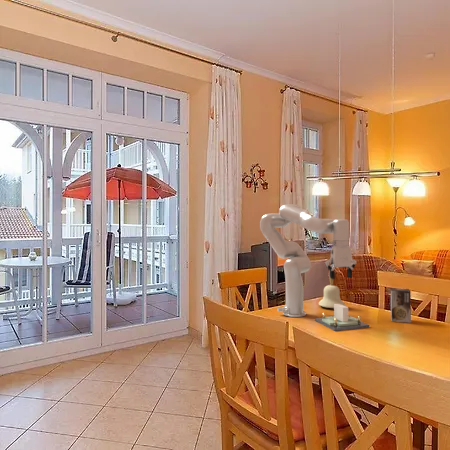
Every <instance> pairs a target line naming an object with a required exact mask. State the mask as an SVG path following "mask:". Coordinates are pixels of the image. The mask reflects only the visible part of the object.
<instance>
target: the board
mask: <svg viewBox="0 0 450 450" xmlns="http://www.w3.org/2000/svg"><path fill="white" fill-rule="evenodd" d="M348 316H349V307H348V306H346V305H345V306H344V305H341V304H334V308H333V316H325V319H322V321H323V322H325V323H327V324H329V325H335V319H334V318H337V325H339V326H348V325H358V317H357V318H356V317H354V316H351V315H350V316H349V317H348ZM360 322H362V320H361V319H360Z"/></svg>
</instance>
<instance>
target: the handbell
mask: <svg viewBox="0 0 450 450" xmlns="http://www.w3.org/2000/svg"><path fill="white" fill-rule="evenodd" d="M328 271H329V274H328V275H329V283H330V284H328V285H326V286H324V287H323V298H322V299H321V300H320V301H318V305H319V306H320V307H323V308H330V309H334V304H341V305H344V306H346V304H345V302H344V301H343V300H342V299H341V297H340V294H341V293H340V291H341V290H340V288H339V287H338V286H337V285H334V279H331V278H330V270H328Z"/></svg>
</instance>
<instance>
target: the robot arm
mask: <svg viewBox="0 0 450 450" xmlns="http://www.w3.org/2000/svg"><path fill="white" fill-rule="evenodd" d="M278 210H279V211H278V213H277V212H276V213H275V212H274V213H271V212H270V213H266V214H264V215H263V216H261V218H260V221H259V230H260V232H261V234H262V235H263V237H264V239H266V240H267V242H268V243H269V245H270V246H271V248H272V249H273V251H274V253H275V254H276V255H277V257H278V258H279V259H283V260H284V259H286V260H285V261H284V263H283V271H284V278H285V279H284V280H285V283H284V284H285V305H284V306H283V307H277V309H276V310H277V312H278V313H279V312H280V313H282V314H283V316H286V317H291V318H301V317H305V316H306V315H307V312H306V311H305V310H304V281H303V277H302V274H304V273H307V272H309V271H310V270H311V267H312V263H311V259H310V258H309V257H308V255H307V254H306V252H305V251H304V249H303V248H302V247H301V245H299V243H298V242H296V241H293V240H289V241H288V240H286V239H285V238H284V236H283V234H281V232H280V231H278V230H277V229H278V228H279V229H281V228H284V227H287V226H288V225H290V224H291V223H295V224H297V225H299V226H302V227H303V228H304V229H306V230H308V231H311V232H313V233H316V234H319V235H321V234H322V235H323V234H332V241H331V242H330V244H331V245H332V247H331V250H330V258H329V259H327V260H326V261H324V264H325V266H326V268H327V269H328V271H330V278H331V279H335V278H336V275H335V273H336V271H335V269H336V268H346V278H349V279H352V278H353V270H354V268H355V267H356V264H357V260H355V259H354V258H353V253H352V248H351V246H350V237H349V236H350V223H349V220H348V219H347V218H345V219H344V218H339V219H338V218H336V219H334V218H320V217H316V216H313V215H311V214H310V212H309V211H308V210H307V209H303V208H301V206H300V205H298V204H293V203H291V204H290V203H289V204H288V203H286V204H283V205H281V206H280V208H279V209H278ZM330 278H329V279H330Z"/></svg>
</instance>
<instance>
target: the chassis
mask: <svg viewBox="0 0 450 450" xmlns="http://www.w3.org/2000/svg"><path fill="white" fill-rule="evenodd" d="M325 317H326V313H325V312H322V317H315V318H314V321H315V322H317V323H319V324H320V325H323V326H325V327H326V328H328V329H330V330H332V331H333V332H339V331H341V332H342V331H349V330H359V329H369V327H370V324H369V323H366V322H363V321H361V322H360V320H361V315H357V319H358V325H348V326H339V325H337V318H334V319H335V325H329V324H327V323H325V322H323V321H322V319H325ZM348 317H349V315H348Z"/></svg>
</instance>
